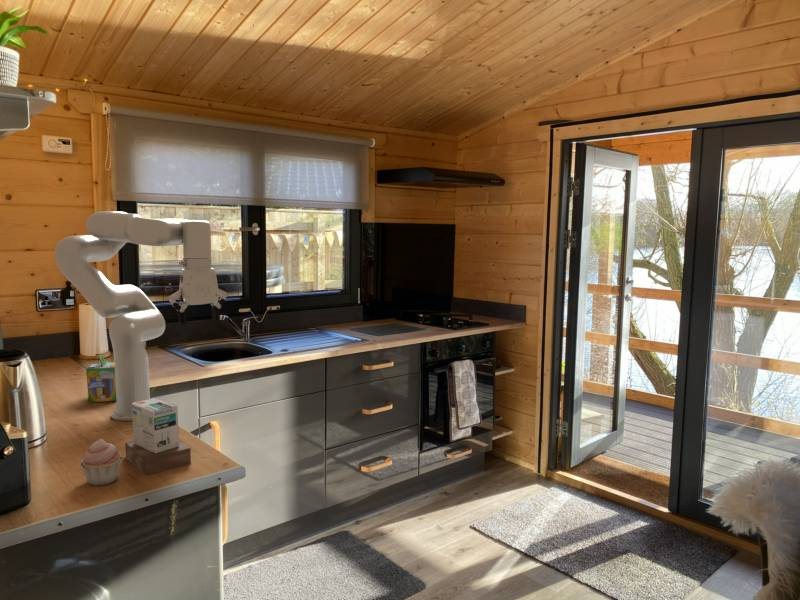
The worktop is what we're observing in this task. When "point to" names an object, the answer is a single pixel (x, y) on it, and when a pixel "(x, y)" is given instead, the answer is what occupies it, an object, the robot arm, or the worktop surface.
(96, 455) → the cupcake
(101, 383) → the chalk box
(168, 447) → the light bulb box
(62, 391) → the worktop surface
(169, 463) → the walnut base block
